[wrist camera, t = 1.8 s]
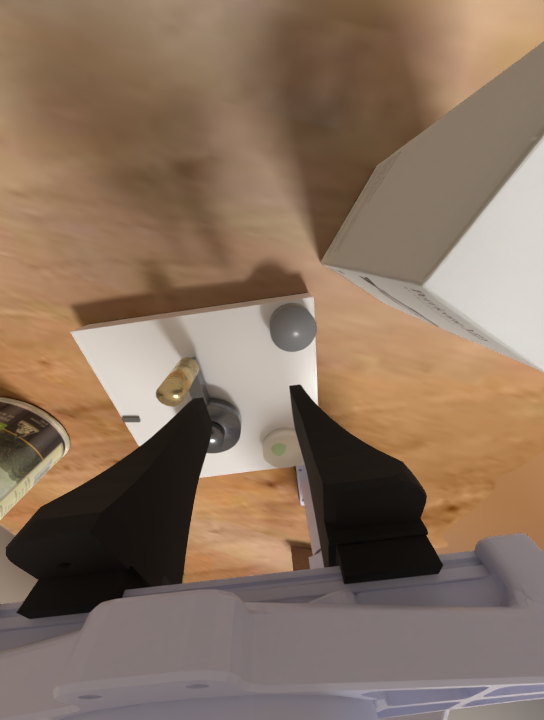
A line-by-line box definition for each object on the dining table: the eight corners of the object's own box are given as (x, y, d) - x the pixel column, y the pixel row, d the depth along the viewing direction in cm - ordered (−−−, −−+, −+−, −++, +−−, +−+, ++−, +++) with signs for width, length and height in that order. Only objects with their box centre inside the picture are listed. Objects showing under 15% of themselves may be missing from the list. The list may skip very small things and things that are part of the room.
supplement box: (317, 263, 18) (414, 283, 6) (377, 161, 15) (747, -131, 3) (382, 306, 19) (548, 380, 8) (447, 223, 17) (835, 161, 5)
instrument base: (316, 449, 28) (324, 477, 24) (167, 467, 28) (154, 498, 25) (308, 292, 19) (319, 301, 15) (88, 324, 19) (49, 340, 16)
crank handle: (246, 438, 23) (243, 482, 19) (192, 444, 23) (176, 490, 19) (223, 347, 18) (210, 378, 14) (154, 357, 18) (120, 390, 14)
